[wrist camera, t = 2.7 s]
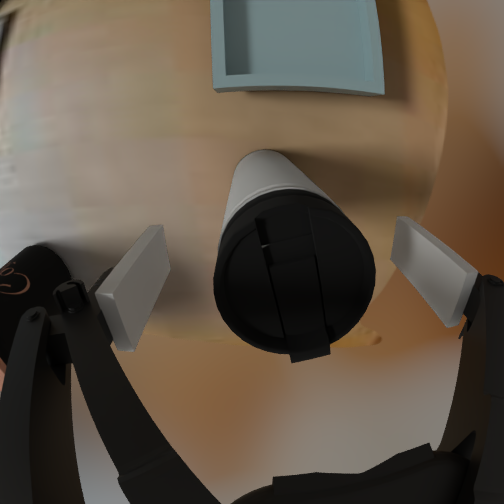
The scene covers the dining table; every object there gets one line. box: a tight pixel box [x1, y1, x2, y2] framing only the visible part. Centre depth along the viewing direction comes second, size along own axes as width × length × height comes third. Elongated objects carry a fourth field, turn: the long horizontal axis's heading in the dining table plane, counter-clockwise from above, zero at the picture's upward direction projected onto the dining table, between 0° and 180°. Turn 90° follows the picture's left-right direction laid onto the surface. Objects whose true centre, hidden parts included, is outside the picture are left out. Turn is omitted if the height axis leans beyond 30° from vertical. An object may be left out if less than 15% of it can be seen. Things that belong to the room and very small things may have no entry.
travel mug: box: [213, 149, 376, 363], centre depth 19 cm, size 6×7×20 cm
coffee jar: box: [0, 245, 72, 391], centre depth 24 cm, size 11×11×18 cm
